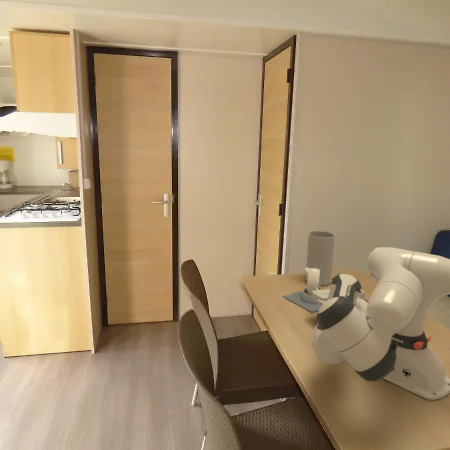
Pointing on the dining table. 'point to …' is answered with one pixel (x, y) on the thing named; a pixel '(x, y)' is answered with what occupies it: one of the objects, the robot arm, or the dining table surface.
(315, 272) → the cream peg
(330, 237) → the cylinder vase
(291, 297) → the slate plate
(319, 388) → the dining table surface
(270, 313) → the dining table surface
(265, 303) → the dining table surface
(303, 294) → the collar
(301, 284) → the dining table surface
